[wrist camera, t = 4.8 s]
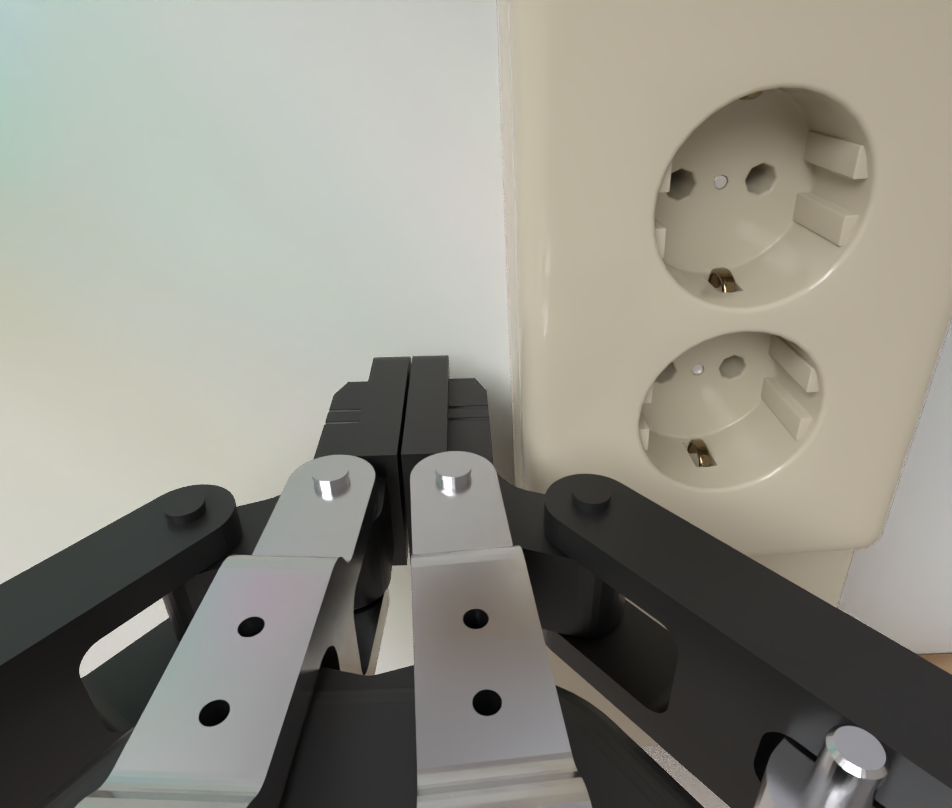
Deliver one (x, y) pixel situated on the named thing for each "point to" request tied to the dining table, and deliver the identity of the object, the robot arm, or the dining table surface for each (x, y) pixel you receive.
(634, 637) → the robot arm
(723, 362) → the electrical outlet
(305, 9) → the dining table surface
